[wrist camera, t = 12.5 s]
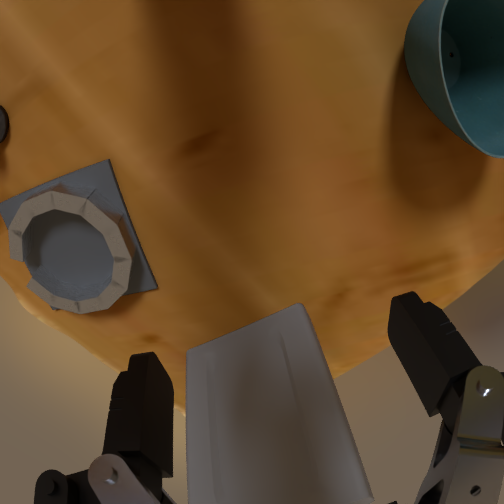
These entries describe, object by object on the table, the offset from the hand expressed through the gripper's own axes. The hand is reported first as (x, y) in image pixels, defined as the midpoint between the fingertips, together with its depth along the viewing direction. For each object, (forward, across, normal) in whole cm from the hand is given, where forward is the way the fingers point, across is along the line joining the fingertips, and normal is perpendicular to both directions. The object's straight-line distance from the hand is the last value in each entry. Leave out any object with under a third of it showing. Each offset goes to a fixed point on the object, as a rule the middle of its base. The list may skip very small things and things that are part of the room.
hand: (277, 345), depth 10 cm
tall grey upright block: (+26, +2, +32) cm, 41 cm away
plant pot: (+26, -26, -8) cm, 38 cm away
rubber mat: (+26, +21, +6) cm, 34 cm away
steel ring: (+26, +21, +6) cm, 33 cm away
